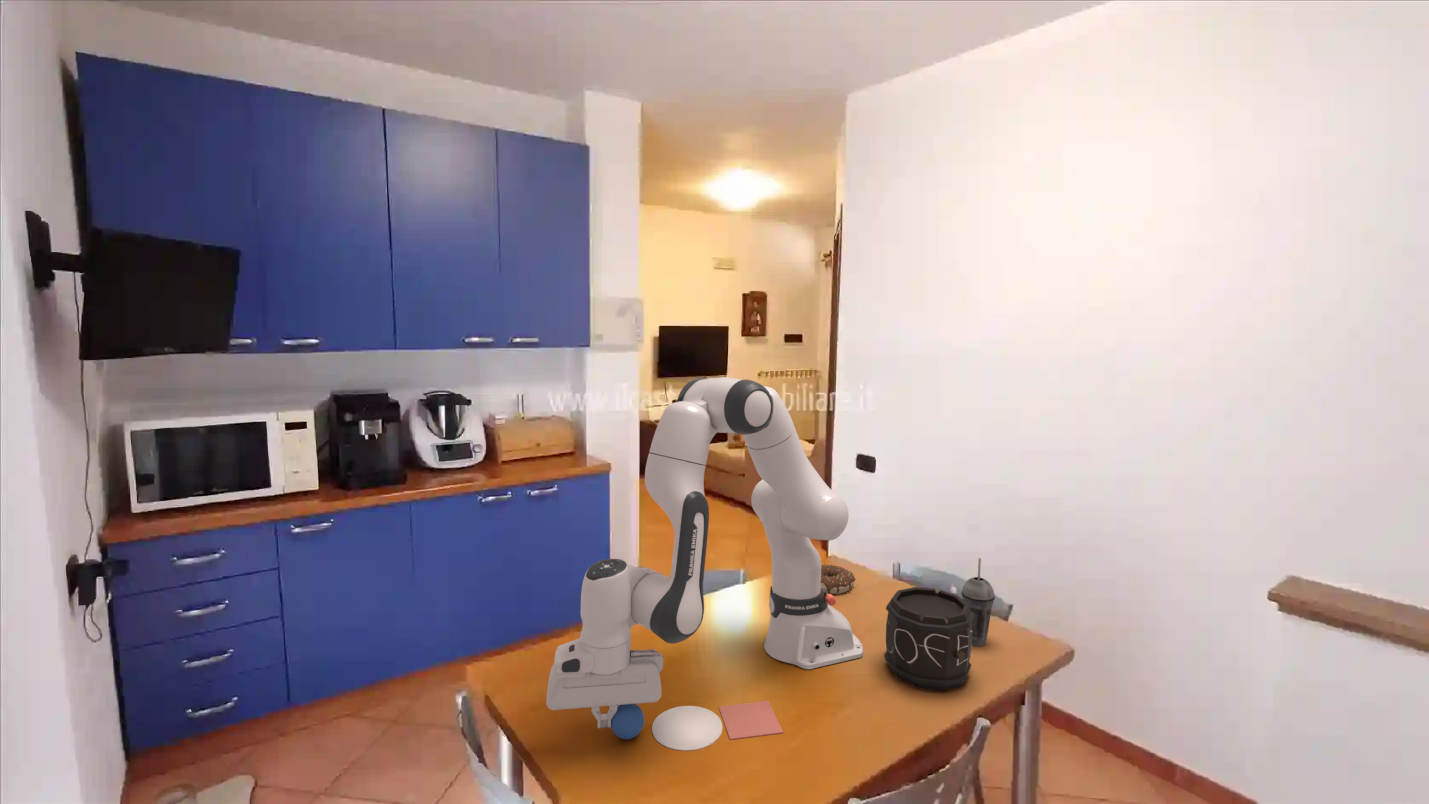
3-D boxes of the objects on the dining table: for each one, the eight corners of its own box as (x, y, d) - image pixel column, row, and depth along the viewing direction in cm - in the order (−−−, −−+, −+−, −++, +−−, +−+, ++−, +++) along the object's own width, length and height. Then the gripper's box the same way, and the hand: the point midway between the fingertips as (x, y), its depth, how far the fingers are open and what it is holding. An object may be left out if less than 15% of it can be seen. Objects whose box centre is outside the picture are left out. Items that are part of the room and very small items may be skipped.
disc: (714, 703, 126) (714, 702, 126) (729, 745, 113) (729, 744, 113) (648, 710, 124) (648, 710, 124) (656, 755, 111) (656, 753, 111)
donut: (845, 601, 174) (845, 583, 173) (798, 590, 181) (798, 573, 180) (861, 583, 186) (861, 566, 185) (816, 573, 193) (817, 557, 192)
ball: (622, 731, 119) (647, 709, 120) (627, 753, 113) (653, 729, 114) (602, 711, 117) (627, 689, 118) (605, 732, 112) (632, 709, 112)
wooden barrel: (924, 704, 126) (927, 628, 124) (868, 660, 143) (870, 593, 141) (992, 684, 133) (996, 612, 132) (931, 644, 150) (934, 580, 148)
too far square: (768, 701, 127) (768, 700, 127) (783, 733, 117) (783, 732, 117) (718, 707, 125) (718, 706, 125) (730, 739, 115) (730, 738, 115)
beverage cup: (958, 645, 149) (962, 563, 147) (959, 631, 156) (963, 552, 154) (992, 651, 147) (997, 567, 144) (991, 637, 153) (996, 557, 151)
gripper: (661, 640, 119) (659, 711, 120) (548, 647, 115) (547, 720, 116) (665, 657, 113) (663, 731, 114) (545, 665, 109) (545, 742, 110)
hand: (604, 726), depth 115 cm, fingers closed
